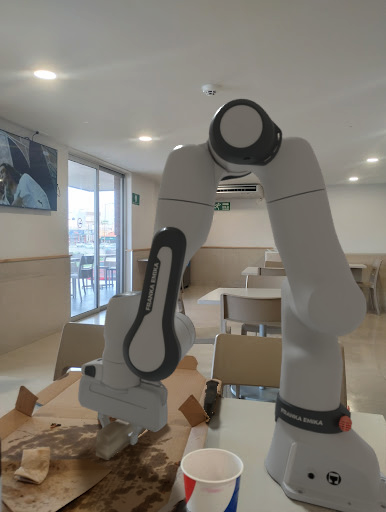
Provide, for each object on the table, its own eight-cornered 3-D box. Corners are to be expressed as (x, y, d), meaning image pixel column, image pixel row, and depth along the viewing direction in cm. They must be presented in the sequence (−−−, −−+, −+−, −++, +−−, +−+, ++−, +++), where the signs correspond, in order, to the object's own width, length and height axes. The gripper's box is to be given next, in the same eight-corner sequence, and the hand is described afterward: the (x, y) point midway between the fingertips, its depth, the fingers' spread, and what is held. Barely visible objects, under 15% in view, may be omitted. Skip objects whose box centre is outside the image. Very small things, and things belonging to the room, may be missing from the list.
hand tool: (205, 392, 106) (206, 376, 106) (219, 393, 106) (220, 377, 106) (194, 423, 88) (196, 404, 88) (211, 426, 87) (212, 406, 87)
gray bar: (164, 420, 88) (166, 399, 88) (107, 461, 70) (109, 436, 70) (154, 416, 89) (155, 396, 89) (95, 456, 72) (97, 431, 72)
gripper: (176, 378, 73) (171, 447, 73) (96, 356, 82) (92, 418, 83) (159, 388, 67) (153, 463, 68) (75, 364, 76) (71, 430, 77)
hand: (119, 438), depth 75 cm, fingers open, 5 cm apart
